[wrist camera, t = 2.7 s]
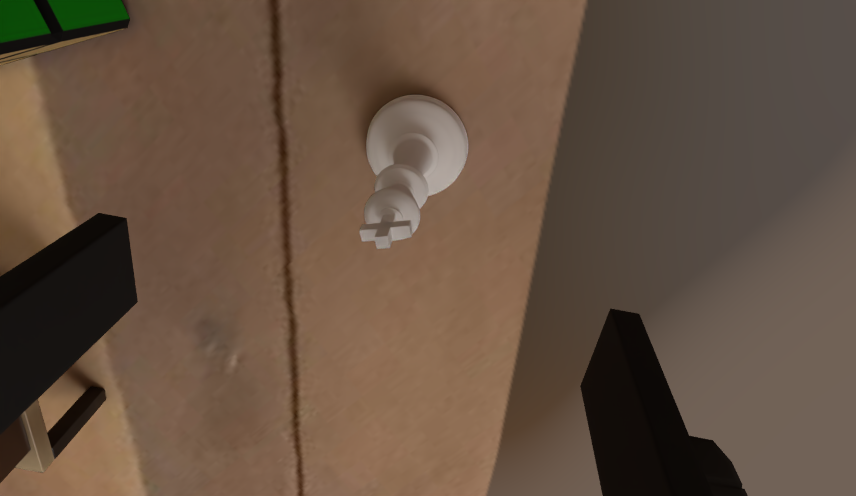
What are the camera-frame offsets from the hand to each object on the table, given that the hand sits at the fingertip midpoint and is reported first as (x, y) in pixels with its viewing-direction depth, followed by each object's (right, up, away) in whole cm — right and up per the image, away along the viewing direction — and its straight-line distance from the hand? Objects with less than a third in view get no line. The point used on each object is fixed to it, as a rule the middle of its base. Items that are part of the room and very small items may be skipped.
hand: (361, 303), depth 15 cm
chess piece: (+1, +7, +12) cm, 13 cm away
